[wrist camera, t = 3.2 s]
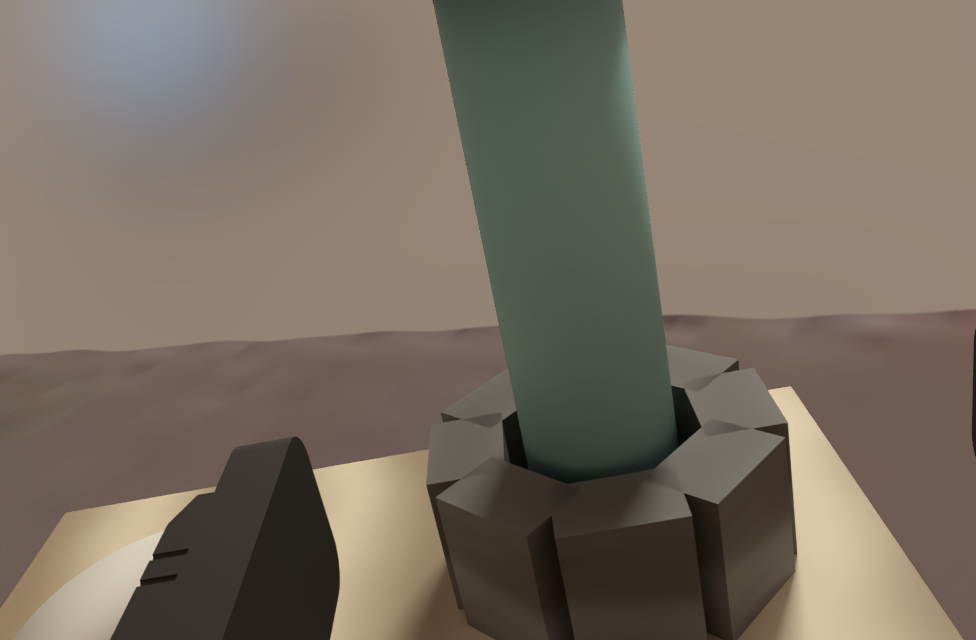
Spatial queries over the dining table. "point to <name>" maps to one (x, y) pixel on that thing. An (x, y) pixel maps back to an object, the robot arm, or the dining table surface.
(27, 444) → the dining table surface
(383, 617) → the eye board
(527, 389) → the wheel peg
